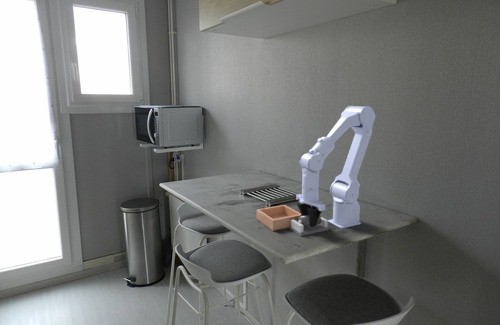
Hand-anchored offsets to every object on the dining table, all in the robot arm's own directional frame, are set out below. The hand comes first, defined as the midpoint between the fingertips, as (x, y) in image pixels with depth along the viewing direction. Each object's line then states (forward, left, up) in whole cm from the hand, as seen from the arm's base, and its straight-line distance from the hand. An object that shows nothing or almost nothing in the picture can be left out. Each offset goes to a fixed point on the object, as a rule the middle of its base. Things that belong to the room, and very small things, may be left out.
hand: (309, 224), depth 119 cm
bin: (+6, -11, -2) cm, 13 cm away
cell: (0, 0, +1) cm, 1 cm away
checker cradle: (0, 0, -2) cm, 2 cm away
